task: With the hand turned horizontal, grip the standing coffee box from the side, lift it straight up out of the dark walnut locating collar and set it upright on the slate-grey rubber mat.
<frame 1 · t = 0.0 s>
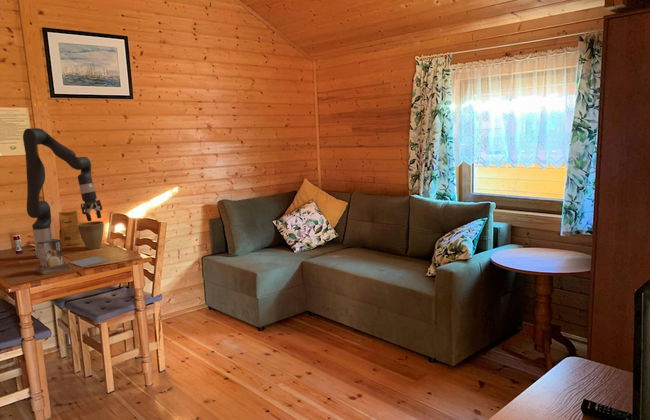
hand: (94, 219, 282), 22 cm above the table, tool pointing down, fingers open, 8 cm apart
coffee box: (53, 270, 262), resting in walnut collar
plant pot: (93, 248, 310), on the table
coffee package: (71, 244, 325), on the table
rubber mat: (89, 262, 276), on the table
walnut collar: (53, 270, 262), on the table
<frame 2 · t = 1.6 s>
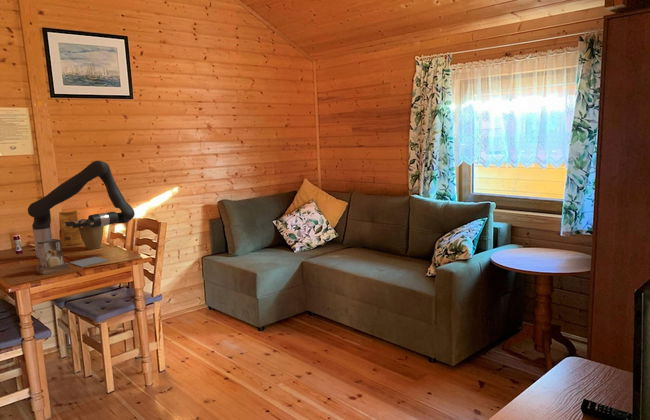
hand: (69, 225, 266), 22 cm above the table, tool horizontal, fingers open, 8 cm apart
nothing on the table moved.
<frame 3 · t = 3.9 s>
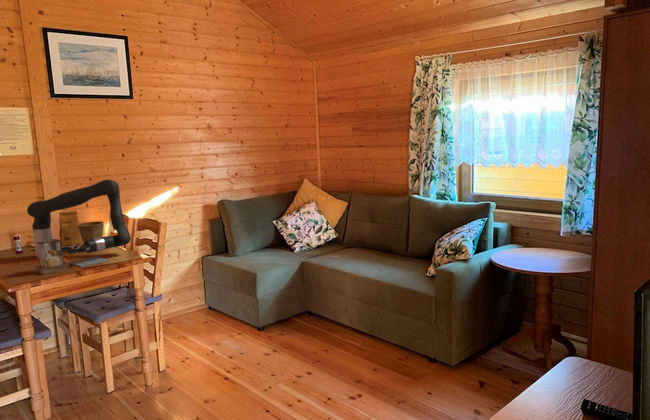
hand: (64, 251, 266), 9 cm above the table, tool horizontal, fingers open, 8 cm apart
nothing on the table moved.
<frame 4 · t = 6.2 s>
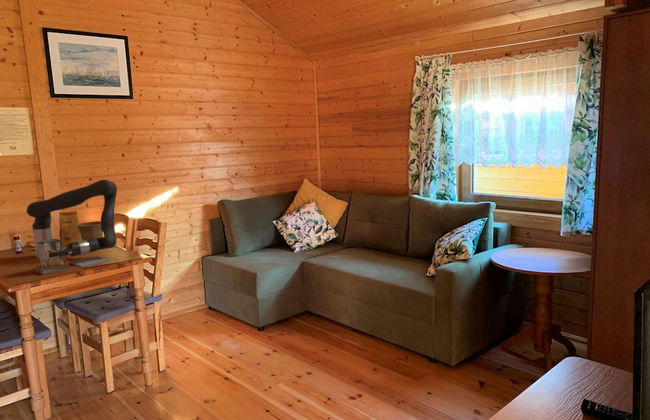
hand: (46, 254, 259), 9 cm above the table, tool horizontal, fingers closed on coffee box, 7 cm apart
coffee box: (53, 270, 262), resting in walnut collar, touching gripper
everything else where it was.
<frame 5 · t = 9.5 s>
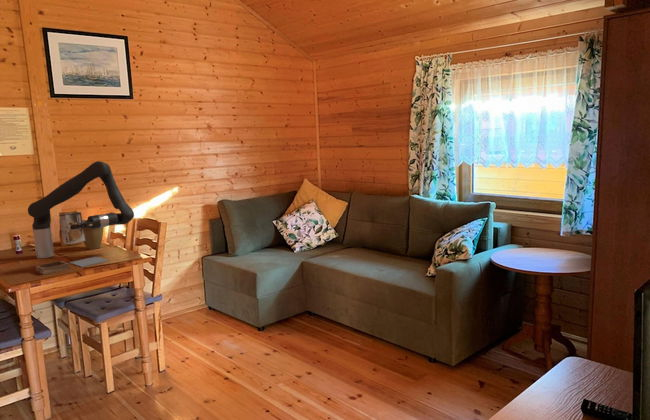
hand: (67, 226, 266), 22 cm above the table, tool horizontal, fingers closed on coffee box, 7 cm apart
coffee box: (74, 242, 269), point 13 cm above the table, touching gripper
everything else where it was.
when the fingers open (10 cm above the table, at t = 12.9 s): coffee box stays where it is, resting on rubber mat.
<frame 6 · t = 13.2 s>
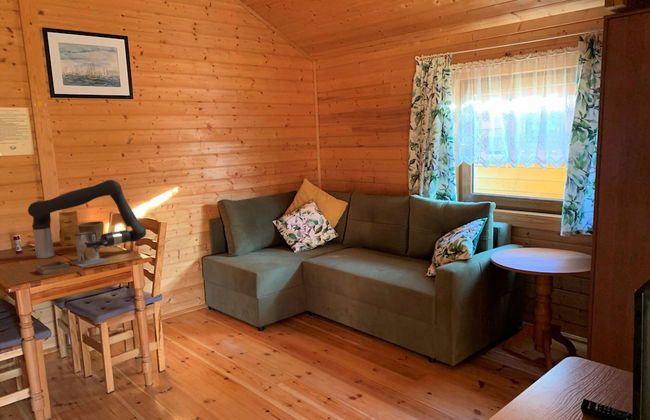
hand: (83, 244, 273), 10 cm above the table, tool horizontal, fingers open, 8 cm apart
coffee box: (89, 261, 276), resting on rubber mat
everything else where it was.
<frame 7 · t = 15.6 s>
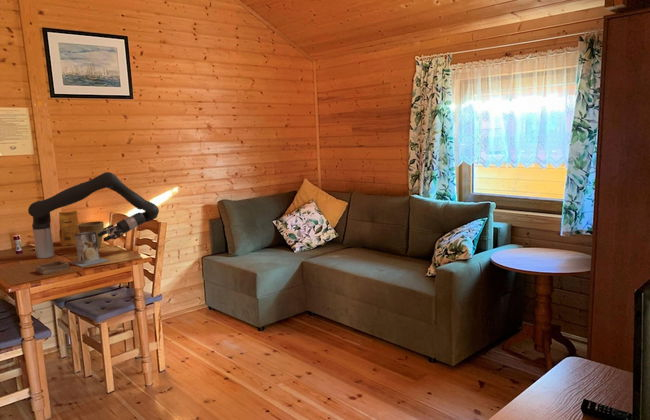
hand: (100, 237, 281), 12 cm above the table, tool tilted 70°, fingers open, 8 cm apart
nothing on the table moved.
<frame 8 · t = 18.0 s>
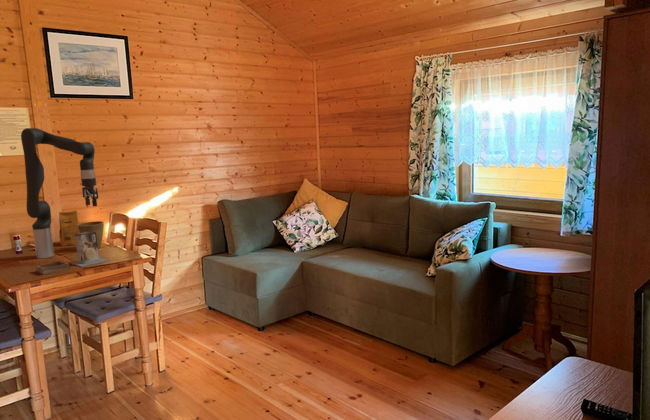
hand: (91, 205, 284), 30 cm above the table, tool pointing down, fingers open, 8 cm apart
nothing on the table moved.
at the end: coffee box inside the target area on the rubber mat (0.1 cm from its centre), point 0.4 cm above the rubber mat's base; coffee box tilted 0°; the gripper is holding nothing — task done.
